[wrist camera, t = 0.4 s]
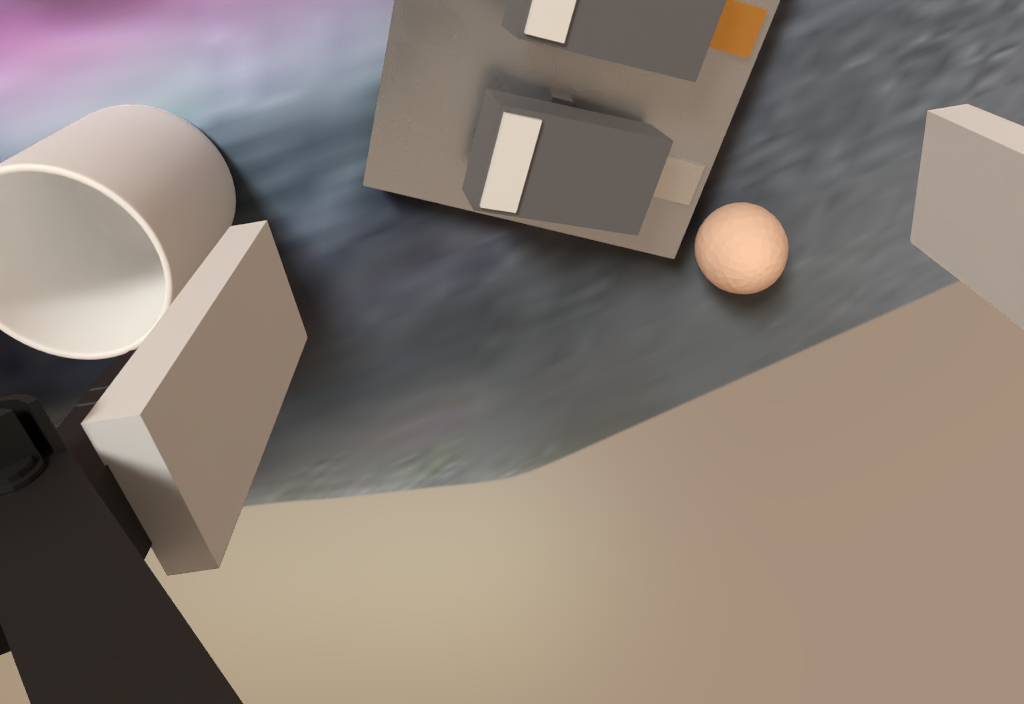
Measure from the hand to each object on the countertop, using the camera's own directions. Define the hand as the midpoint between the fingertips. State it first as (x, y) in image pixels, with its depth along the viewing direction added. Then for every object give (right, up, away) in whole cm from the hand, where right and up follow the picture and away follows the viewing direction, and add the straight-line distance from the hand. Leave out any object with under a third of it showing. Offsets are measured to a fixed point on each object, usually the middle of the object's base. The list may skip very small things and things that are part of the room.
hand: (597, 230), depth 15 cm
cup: (-22, +6, +22) cm, 32 cm away
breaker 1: (+2, +12, +15) cm, 20 cm away
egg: (+10, +4, +25) cm, 27 cm away
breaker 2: (0, +6, +19) cm, 20 cm away
